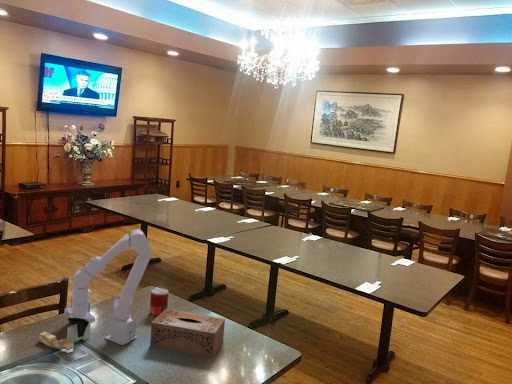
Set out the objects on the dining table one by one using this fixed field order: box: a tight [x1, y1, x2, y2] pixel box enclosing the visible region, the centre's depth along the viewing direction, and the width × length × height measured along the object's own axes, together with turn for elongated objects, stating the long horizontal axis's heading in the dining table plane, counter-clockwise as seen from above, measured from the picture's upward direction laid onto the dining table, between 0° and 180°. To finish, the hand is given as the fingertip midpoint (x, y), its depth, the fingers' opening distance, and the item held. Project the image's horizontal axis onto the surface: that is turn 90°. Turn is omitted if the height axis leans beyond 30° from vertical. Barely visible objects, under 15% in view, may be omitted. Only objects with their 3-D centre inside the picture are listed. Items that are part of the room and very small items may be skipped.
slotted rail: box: [38, 331, 75, 350], centre depth 157 cm, size 16×2×3 cm, turn 62°
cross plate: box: [66, 323, 91, 343], centre depth 163 cm, size 9×2×7 cm, turn 152°
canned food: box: [149, 287, 169, 318], centre depth 195 cm, size 8×8×11 cm
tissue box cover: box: [149, 308, 226, 359], centre depth 169 cm, size 26×14×10 cm, turn 79°
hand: (78, 335), depth 163 cm, fingers closed on cross plate, 2 cm apart
